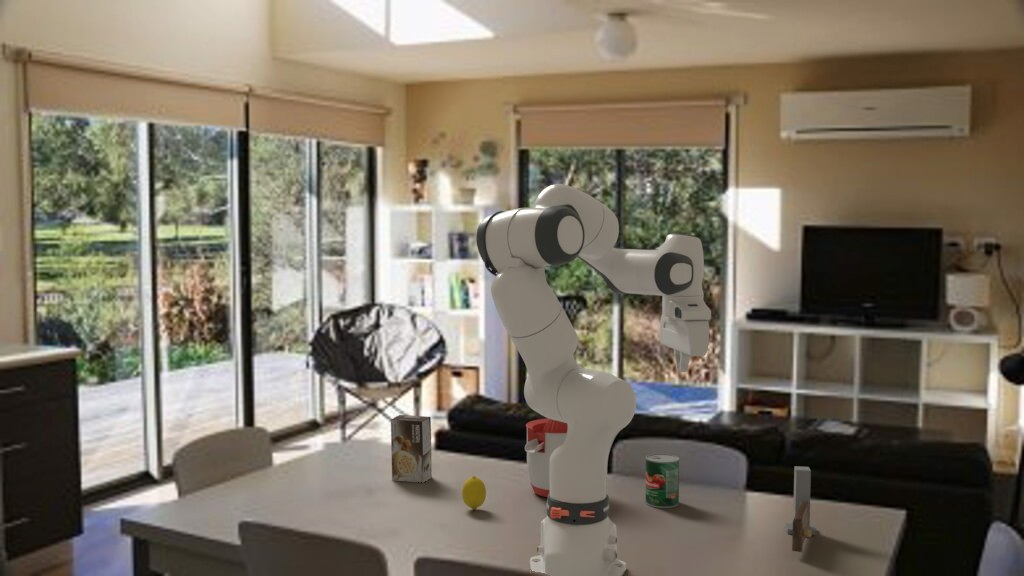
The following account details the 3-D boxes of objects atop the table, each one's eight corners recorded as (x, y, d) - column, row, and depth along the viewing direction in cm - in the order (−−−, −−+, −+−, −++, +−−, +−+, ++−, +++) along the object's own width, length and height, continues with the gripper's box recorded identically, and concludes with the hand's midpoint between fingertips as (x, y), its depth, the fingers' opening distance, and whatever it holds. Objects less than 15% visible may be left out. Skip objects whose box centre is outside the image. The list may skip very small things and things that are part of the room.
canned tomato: (683, 501, 230) (684, 456, 229) (671, 510, 223) (672, 463, 222) (652, 496, 234) (653, 451, 233) (639, 504, 227) (640, 459, 226)
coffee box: (433, 477, 251) (432, 416, 250) (423, 483, 245) (423, 421, 244) (400, 474, 254) (399, 414, 252) (390, 480, 248) (389, 419, 246)
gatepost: (816, 535, 206) (818, 470, 205) (787, 533, 207) (789, 469, 205) (813, 529, 210) (815, 465, 208) (785, 527, 211) (786, 464, 209)
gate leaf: (816, 531, 204) (817, 503, 203) (809, 553, 191) (810, 523, 190) (799, 529, 205) (800, 501, 204) (792, 550, 192) (792, 521, 191)
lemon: (482, 514, 220) (482, 479, 219) (459, 512, 221) (459, 478, 221) (488, 507, 226) (488, 473, 225) (465, 505, 227) (465, 472, 226)
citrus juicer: (507, 493, 237) (507, 412, 235) (557, 480, 248) (558, 403, 246) (551, 507, 225) (551, 423, 223) (602, 493, 236) (603, 413, 235)
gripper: (653, 303, 220) (652, 363, 221) (686, 313, 200) (685, 379, 201) (679, 303, 221) (678, 362, 222) (714, 312, 201) (713, 377, 202)
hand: (682, 370), depth 211 cm, fingers closed
